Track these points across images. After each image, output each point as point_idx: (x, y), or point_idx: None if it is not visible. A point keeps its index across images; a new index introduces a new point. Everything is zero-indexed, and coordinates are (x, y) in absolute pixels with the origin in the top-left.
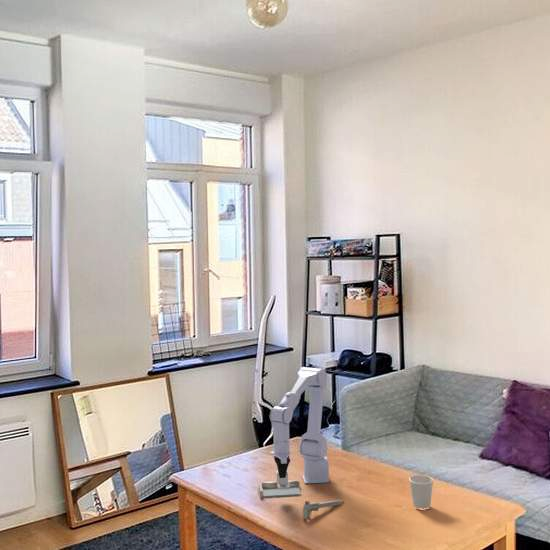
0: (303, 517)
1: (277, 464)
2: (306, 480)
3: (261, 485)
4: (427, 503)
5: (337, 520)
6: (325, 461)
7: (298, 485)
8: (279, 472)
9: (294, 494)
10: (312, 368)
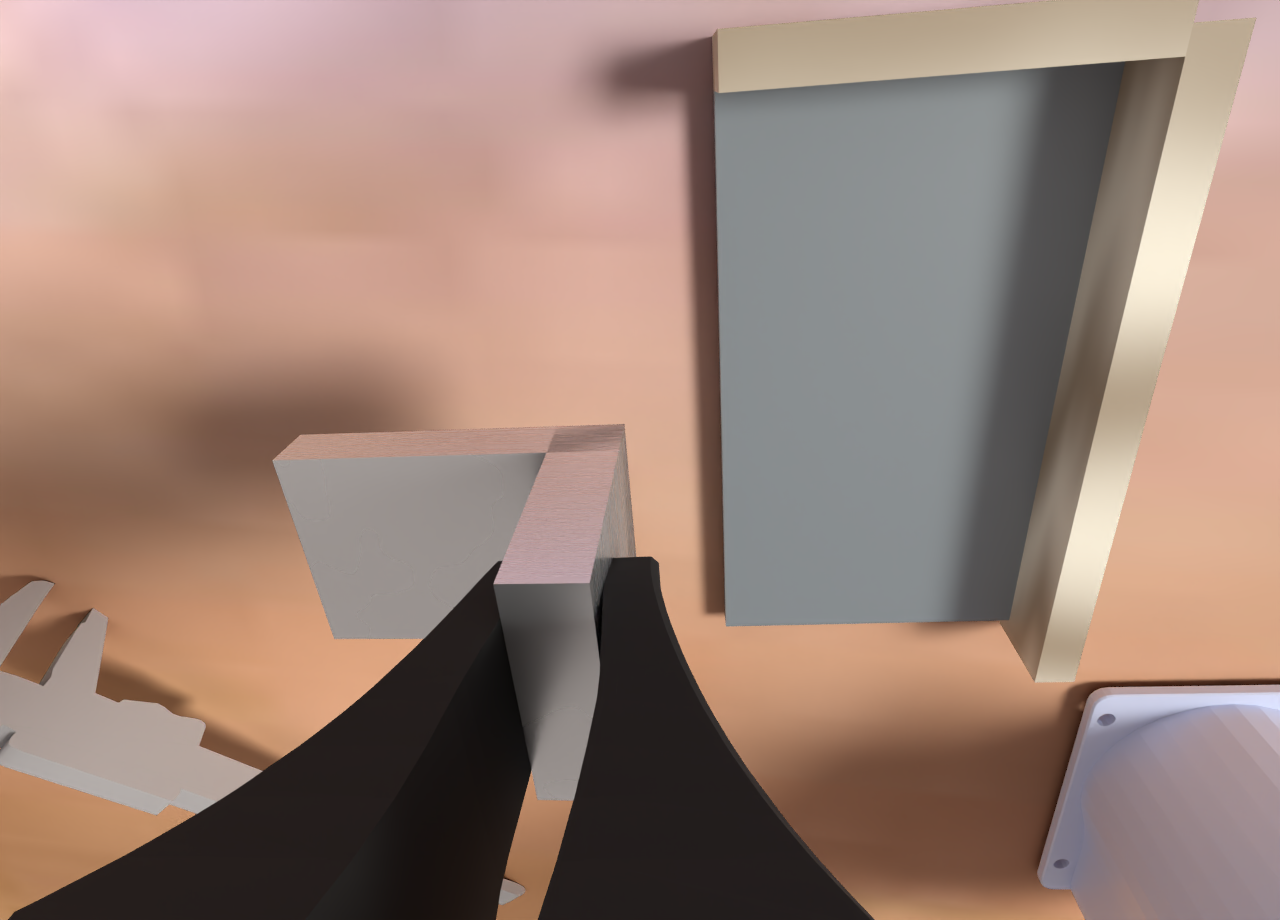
0: (15, 593)
1: (141, 873)
2: (1166, 717)
3: (1042, 60)
4: None
5: (113, 814)
6: None
7: (1012, 627)
8: (428, 652)
9: (724, 556)
10: None
